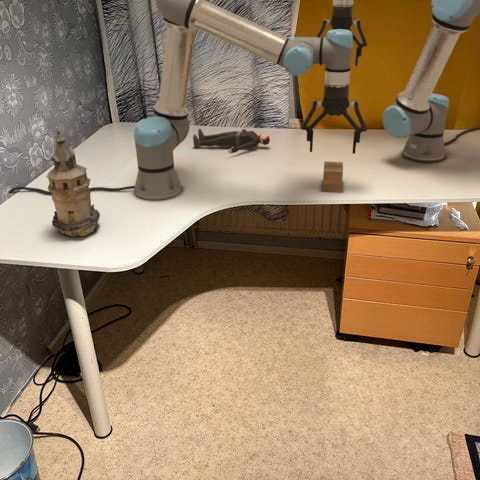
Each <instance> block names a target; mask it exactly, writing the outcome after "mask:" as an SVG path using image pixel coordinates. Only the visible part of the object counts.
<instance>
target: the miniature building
mask: <svg viewBox="0 0 480 480" xmlns="http://www.w3.org/2000/svg"><path fill="white" fill-rule="evenodd" d="M56 134H57V136H56V138H55V140H54V141H55V142H56V147H55V154H54V156H52V157H51V161H52V162H53V165H54V167H53V168H51V169H50V170H49V171H48V173H47V174H46V178H47V179H48V182H49V184H48V186H47V191H49V192H51V193H52V194H51V200H52V201H53V205H54V209H55V211H53V217H52V220H51V223H52V225H51V227H54V228H56V229H58V230H59V231H60V234H63V235H64V234H65V235H66V236H69V237H77V236H80V237H83V236H87V235H88V234H90V233H93V232H94V231H95V229H96V226H97V225H98V223H99V220H100V216H101V213H100V212H99V210H98V209H96V208H95V204H92V201H91V200H92V199H91V198H92V197H91V192H92V190H91V191H90V189H89V188H90V184H91V178H89V177H88V174H87V167H85V166H84V165H83V166H82V165H80V164H77V160H76V154H75V151H74V150H70V149H69V147H68V145H67V143H66V138H65V137H64V136H63V135H61V130H60V129H56Z"/></svg>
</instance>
